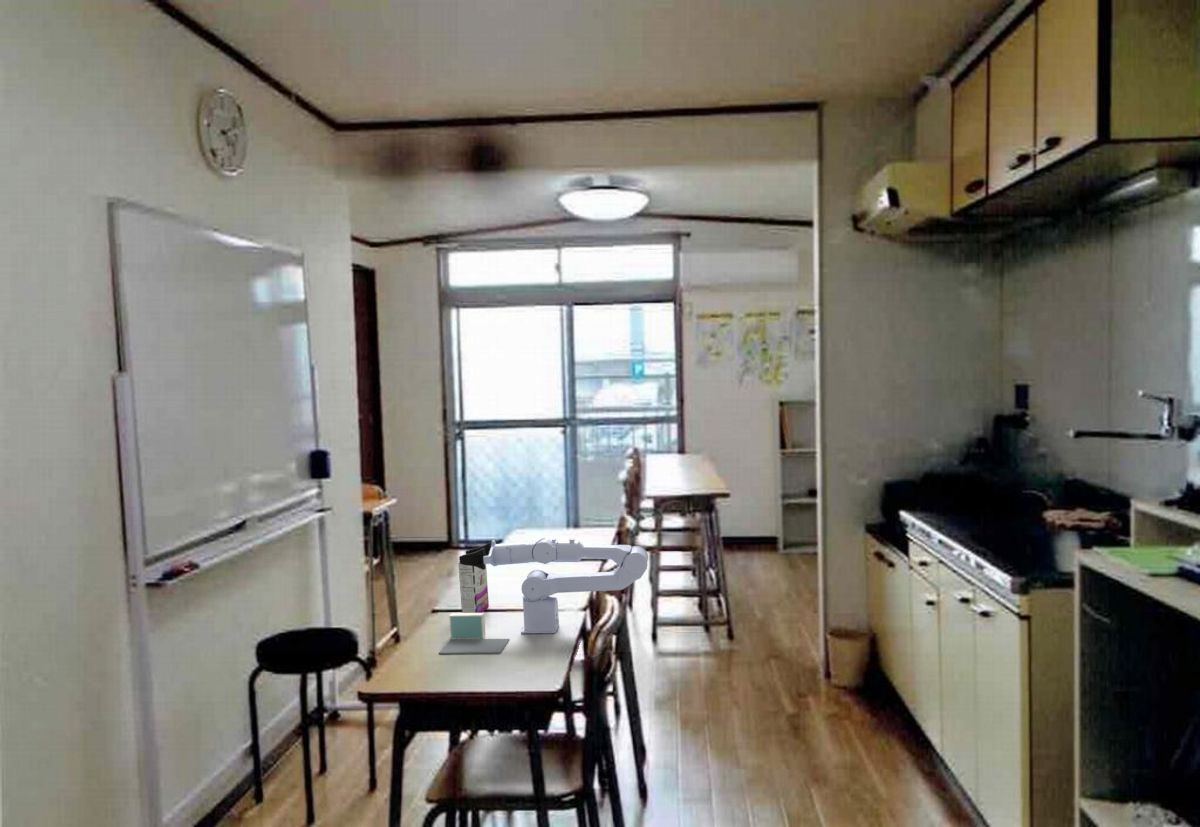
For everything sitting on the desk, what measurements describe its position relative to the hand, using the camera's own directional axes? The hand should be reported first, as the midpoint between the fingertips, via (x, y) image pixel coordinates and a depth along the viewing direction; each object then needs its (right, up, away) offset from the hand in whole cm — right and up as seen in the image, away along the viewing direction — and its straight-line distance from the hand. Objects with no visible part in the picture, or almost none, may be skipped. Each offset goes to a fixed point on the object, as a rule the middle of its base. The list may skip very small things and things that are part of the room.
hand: (463, 557), depth 243 cm
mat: (+5, -21, -13) cm, 25 cm away
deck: (+2, -21, -5) cm, 21 cm away
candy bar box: (+1, -20, +20) cm, 28 cm away
